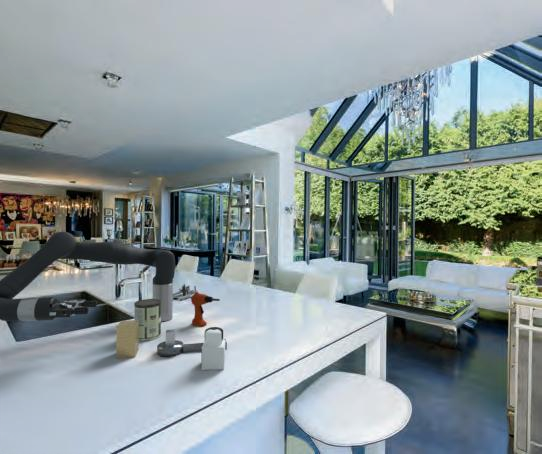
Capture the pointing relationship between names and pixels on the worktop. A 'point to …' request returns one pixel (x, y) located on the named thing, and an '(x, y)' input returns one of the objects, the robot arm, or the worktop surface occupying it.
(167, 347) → the ratchet
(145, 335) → the coffee can
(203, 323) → the toy drill
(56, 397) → the worktop surface
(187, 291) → the grey toy warship
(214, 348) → the medicine bottle
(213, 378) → the worktop surface
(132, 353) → the brushed brass block
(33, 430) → the worktop surface
